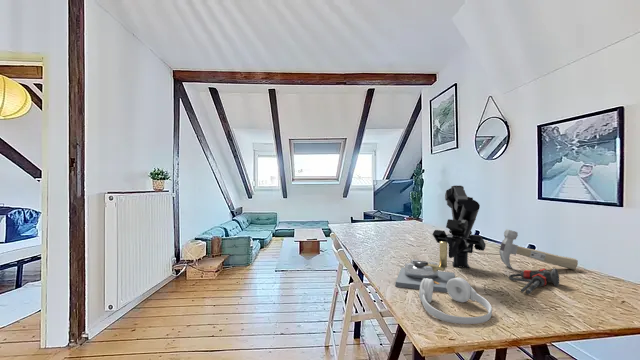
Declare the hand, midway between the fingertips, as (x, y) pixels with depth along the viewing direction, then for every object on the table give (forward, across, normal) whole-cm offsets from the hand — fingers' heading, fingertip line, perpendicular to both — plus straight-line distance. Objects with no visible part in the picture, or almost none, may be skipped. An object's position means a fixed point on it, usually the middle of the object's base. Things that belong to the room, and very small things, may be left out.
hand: (450, 257), depth 121 cm
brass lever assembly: (+9, -6, 0) cm, 11 cm away
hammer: (-26, +15, +38) cm, 49 cm away
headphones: (+24, +14, -11) cm, 29 cm away
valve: (-6, +20, +20) cm, 29 cm away
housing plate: (+11, -5, +1) cm, 13 cm away
